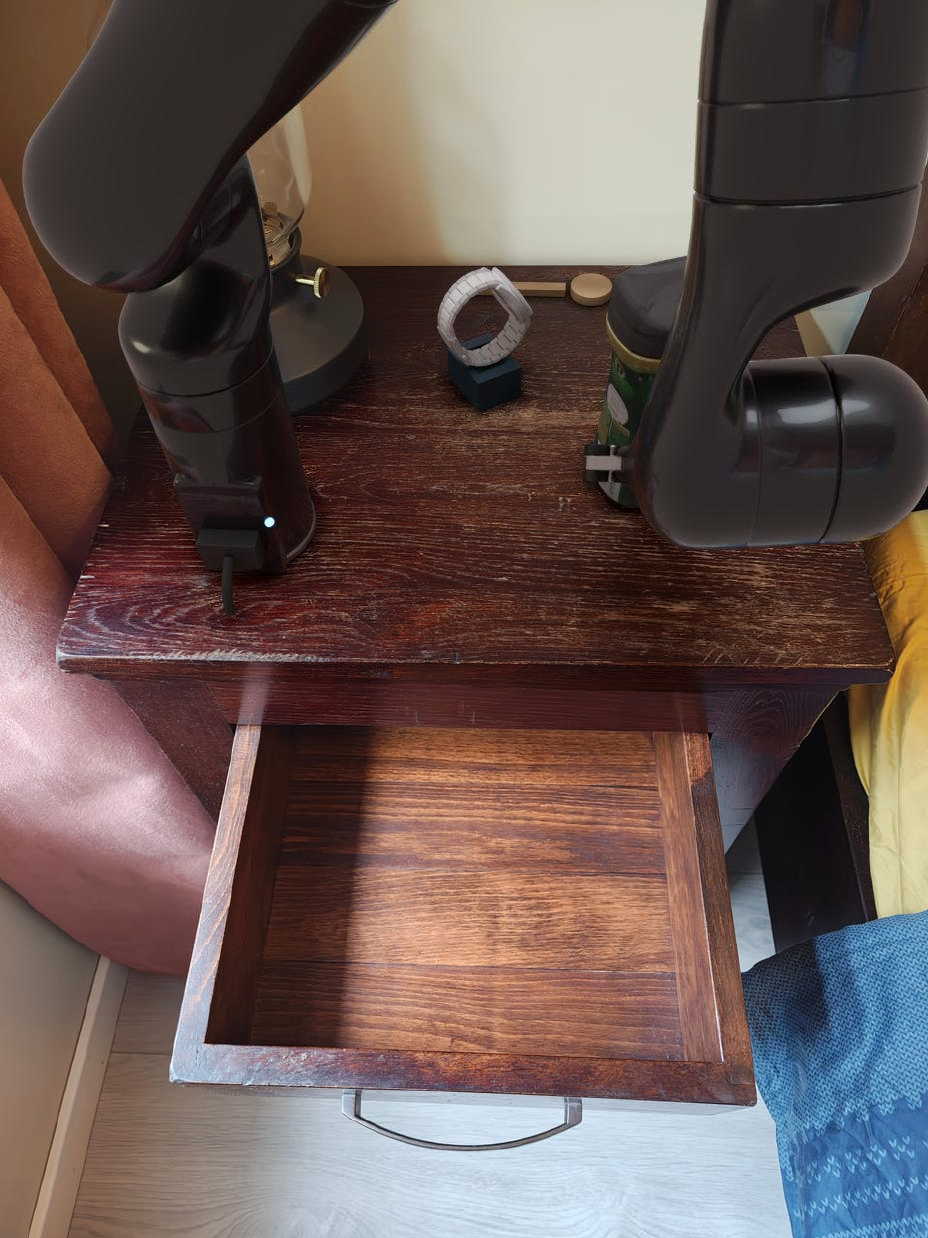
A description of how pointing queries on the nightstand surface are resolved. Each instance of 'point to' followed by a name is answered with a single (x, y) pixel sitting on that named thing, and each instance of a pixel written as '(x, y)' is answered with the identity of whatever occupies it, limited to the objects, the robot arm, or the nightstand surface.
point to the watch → (485, 341)
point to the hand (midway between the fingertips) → (661, 468)
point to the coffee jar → (636, 352)
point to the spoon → (583, 289)
